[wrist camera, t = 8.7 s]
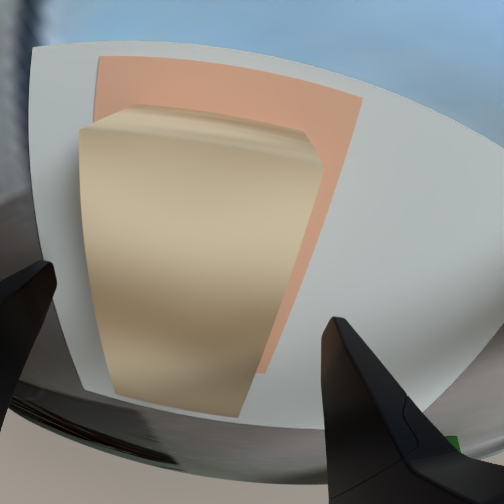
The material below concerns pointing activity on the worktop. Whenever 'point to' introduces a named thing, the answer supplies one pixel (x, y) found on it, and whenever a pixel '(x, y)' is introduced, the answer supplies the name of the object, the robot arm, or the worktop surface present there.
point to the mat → (320, 222)
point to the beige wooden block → (191, 247)
